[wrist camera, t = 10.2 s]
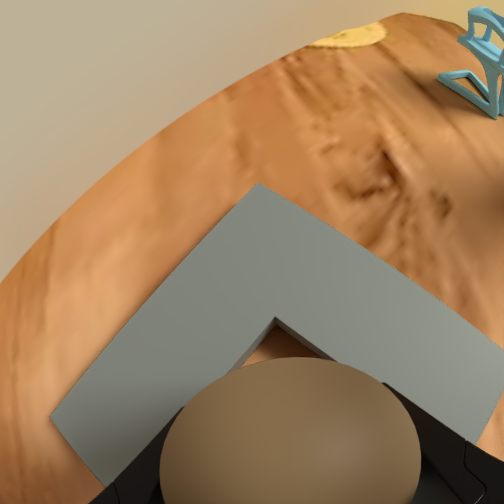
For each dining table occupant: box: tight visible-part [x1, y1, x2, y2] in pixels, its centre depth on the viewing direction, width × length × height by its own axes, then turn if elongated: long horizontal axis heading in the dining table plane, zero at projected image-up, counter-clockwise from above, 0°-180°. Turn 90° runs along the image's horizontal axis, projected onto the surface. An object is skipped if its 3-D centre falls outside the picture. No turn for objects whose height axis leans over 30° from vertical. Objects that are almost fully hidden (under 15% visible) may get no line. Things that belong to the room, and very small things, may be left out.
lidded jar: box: [160, 357, 421, 504], centre depth 9 cm, size 5×5×10 cm
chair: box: [438, 6, 504, 120], centre depth 20 cm, size 8×8×12 cm
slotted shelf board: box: [50, 183, 504, 487], centre depth 14 cm, size 20×20×2 cm
